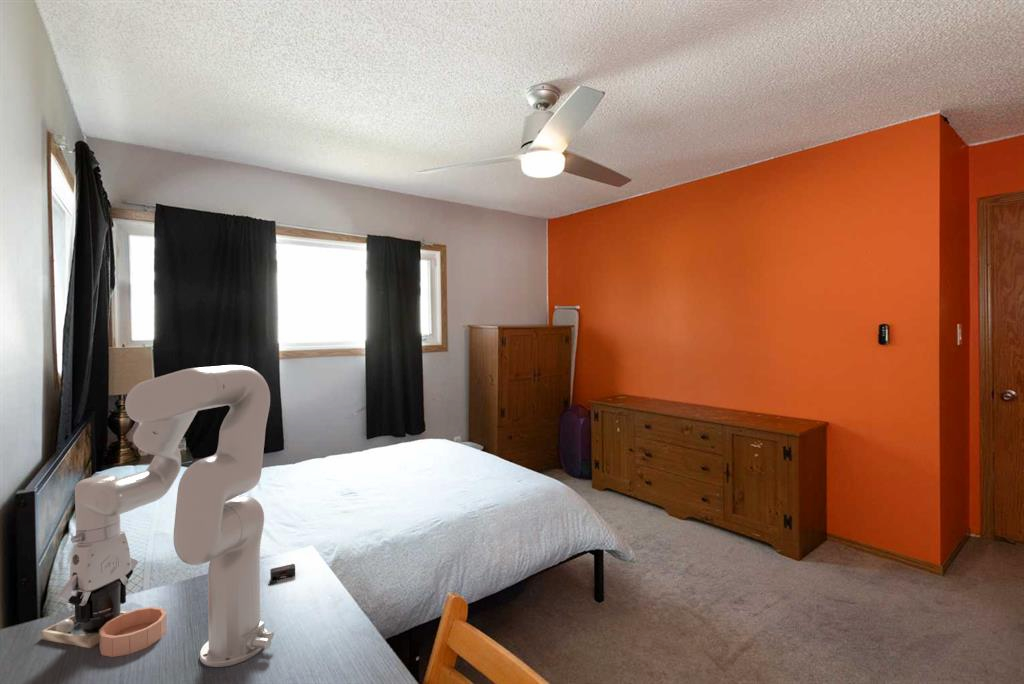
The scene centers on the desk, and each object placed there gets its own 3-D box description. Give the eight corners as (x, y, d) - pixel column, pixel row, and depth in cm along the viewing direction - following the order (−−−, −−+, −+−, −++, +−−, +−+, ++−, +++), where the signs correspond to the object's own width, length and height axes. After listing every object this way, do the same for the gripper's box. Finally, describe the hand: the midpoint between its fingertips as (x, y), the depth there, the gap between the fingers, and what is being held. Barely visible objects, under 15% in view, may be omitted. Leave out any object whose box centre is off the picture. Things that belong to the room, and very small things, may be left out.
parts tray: (137, 621, 111) (137, 613, 111) (90, 648, 102) (90, 639, 102) (90, 614, 115) (90, 606, 115) (41, 640, 105) (41, 631, 105)
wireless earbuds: (267, 581, 130) (267, 569, 130) (294, 574, 134) (294, 563, 134) (268, 588, 126) (267, 576, 126) (296, 581, 130) (296, 570, 130)
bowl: (178, 628, 109) (177, 610, 109) (128, 660, 98) (128, 640, 98) (139, 621, 111) (138, 604, 111) (86, 652, 100) (86, 633, 100)
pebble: (77, 630, 108) (77, 617, 108) (62, 638, 105) (61, 624, 105) (67, 628, 109) (67, 615, 109) (51, 636, 106) (51, 623, 106)
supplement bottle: (97, 636, 103) (97, 581, 103) (72, 632, 105) (71, 578, 105) (128, 618, 110) (128, 566, 110) (104, 614, 112) (103, 563, 111)
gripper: (67, 550, 98) (70, 637, 98) (149, 519, 115) (152, 593, 115) (40, 548, 100) (43, 633, 100) (125, 517, 117) (127, 590, 117)
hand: (101, 611), depth 107 cm, fingers closed on supplement bottle, 6 cm apart
